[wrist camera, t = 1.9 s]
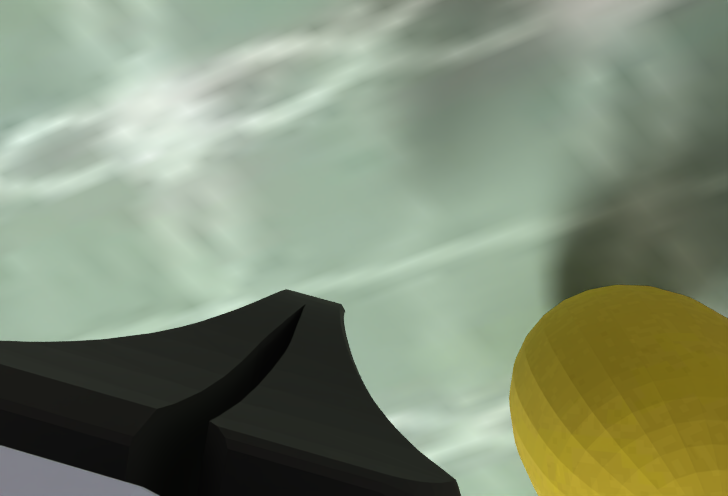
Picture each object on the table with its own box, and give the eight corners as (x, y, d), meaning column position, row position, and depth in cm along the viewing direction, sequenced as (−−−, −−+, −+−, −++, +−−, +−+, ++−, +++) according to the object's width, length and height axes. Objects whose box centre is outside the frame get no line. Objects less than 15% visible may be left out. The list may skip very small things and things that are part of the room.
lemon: (640, 208, 14) (867, 346, 7) (726, 370, 15) (1010, 648, 8) (458, 303, 16) (479, 505, 8) (548, 446, 17) (641, 743, 9)
